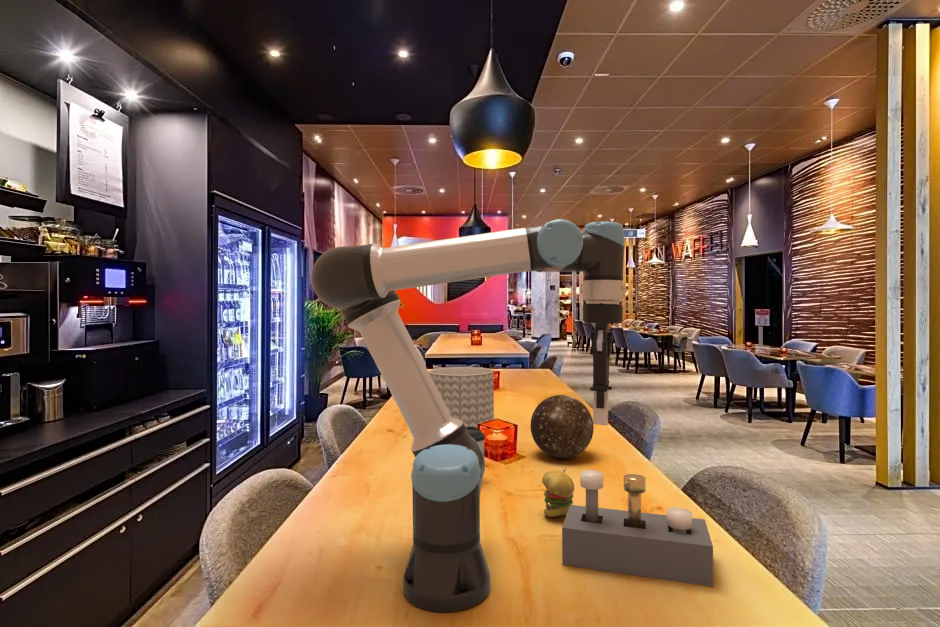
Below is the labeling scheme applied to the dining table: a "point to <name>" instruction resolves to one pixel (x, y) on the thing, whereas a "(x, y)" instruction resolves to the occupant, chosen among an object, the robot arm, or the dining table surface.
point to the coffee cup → (477, 436)
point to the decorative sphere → (562, 426)
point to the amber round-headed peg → (634, 498)
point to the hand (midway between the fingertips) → (600, 423)
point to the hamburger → (557, 492)
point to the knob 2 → (679, 519)
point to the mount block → (637, 546)
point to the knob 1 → (591, 492)
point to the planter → (466, 393)
